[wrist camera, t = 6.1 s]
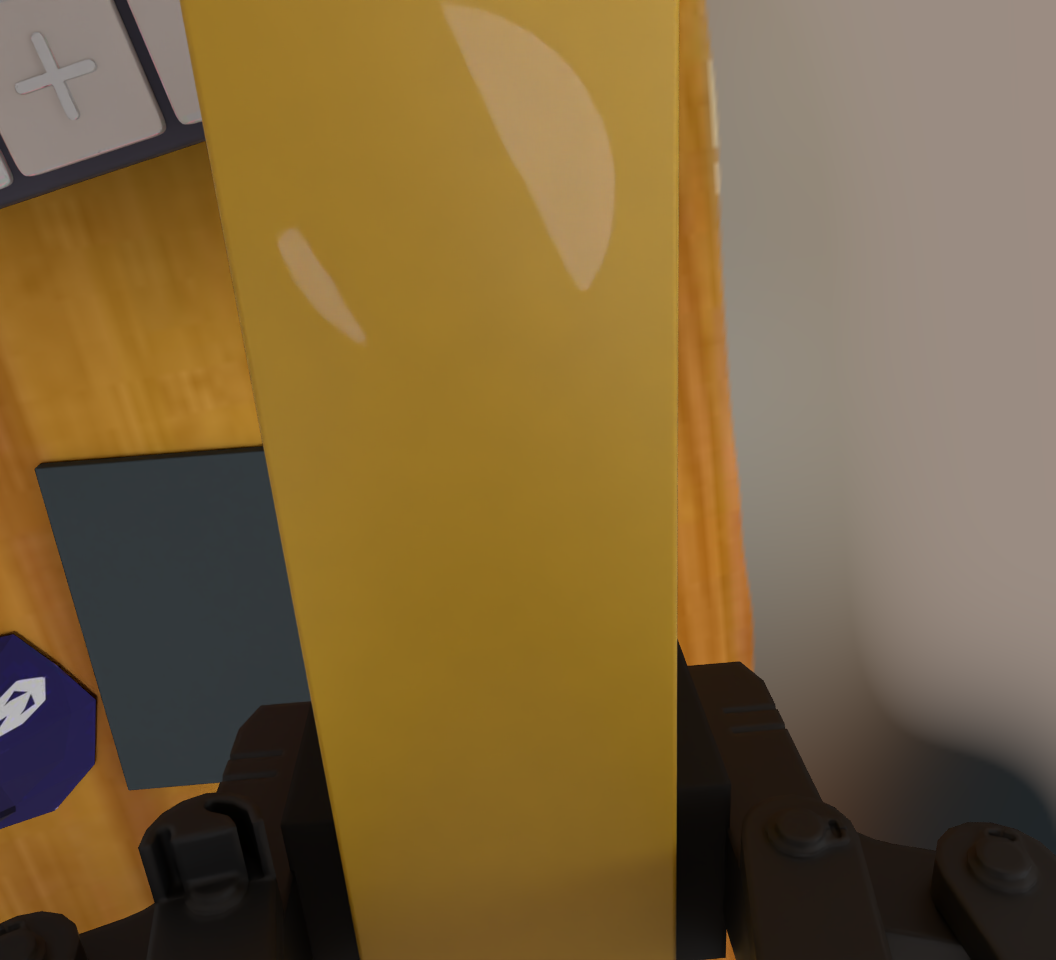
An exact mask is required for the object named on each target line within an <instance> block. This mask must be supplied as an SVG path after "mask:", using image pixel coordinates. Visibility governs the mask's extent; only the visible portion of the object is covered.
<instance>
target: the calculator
mask: <svg viewBox="0 0 1056 960" xmlns="http://www.w3.org/2000/svg"><path fill="white" fill-rule="evenodd" d="M204 141H206V139H205V134H204V129H203V123H202V118H201V113H200V107H199V102H198V97H197V91H196V86H195V81H194V75H193V70H192V65H191V60H190V54H189V49H188V44H187V38H186V33H185V28H184V22H183V17H182V12H181V6H180V1H179V0H0V209H1V208H4V207H7V206H10V205H13V204H16V203H19V202H22V201H25V200H29V199H32V198H35V197H38V196H41V195H44V194H47V193H50V192H53V191H55V190H58V189H61V188H64V187H67V186H70V185H73V184H76V183H79V182H82V181H85V180H88V179H91V178H94V177H97V176H100V175H103V174H106V173H109V172H112V171H115V170H118V169H121V168H124V167H128V166H131V165H134V164H137V163H140V162H143V161H146V160H149V159H152V158H155V157H158V156H161V155H164V154H167V153H170V152H173V151H176V150H179V149H182V148H185V147H188V146H191V145H194V144H197V143H200V142H204Z"/></svg>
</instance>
